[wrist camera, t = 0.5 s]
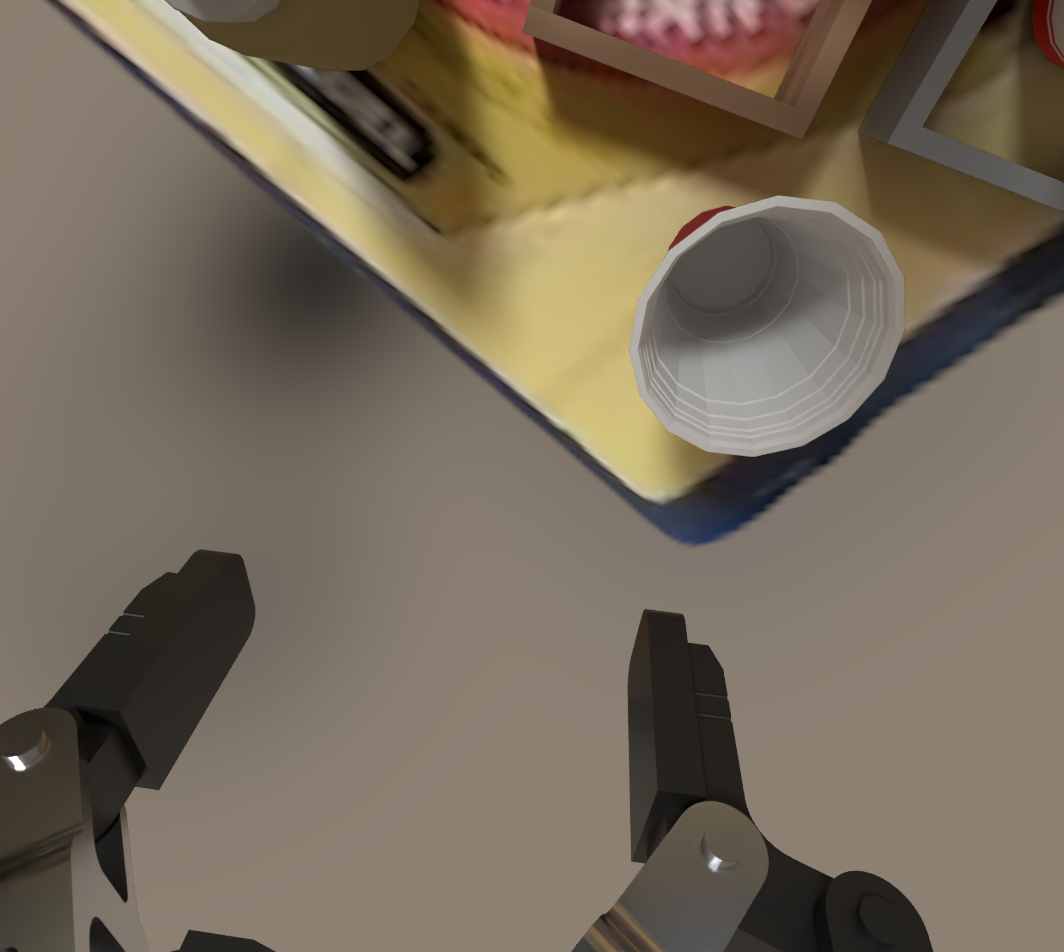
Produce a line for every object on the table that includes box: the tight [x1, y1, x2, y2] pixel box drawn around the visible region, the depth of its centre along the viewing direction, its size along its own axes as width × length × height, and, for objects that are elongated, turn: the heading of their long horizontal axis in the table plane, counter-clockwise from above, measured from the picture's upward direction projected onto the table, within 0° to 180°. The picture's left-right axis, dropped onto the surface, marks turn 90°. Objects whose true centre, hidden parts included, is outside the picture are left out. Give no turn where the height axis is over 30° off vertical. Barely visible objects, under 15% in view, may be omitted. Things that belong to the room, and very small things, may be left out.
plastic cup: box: [629, 195, 905, 457], centre depth 31 cm, size 11×11×12 cm
